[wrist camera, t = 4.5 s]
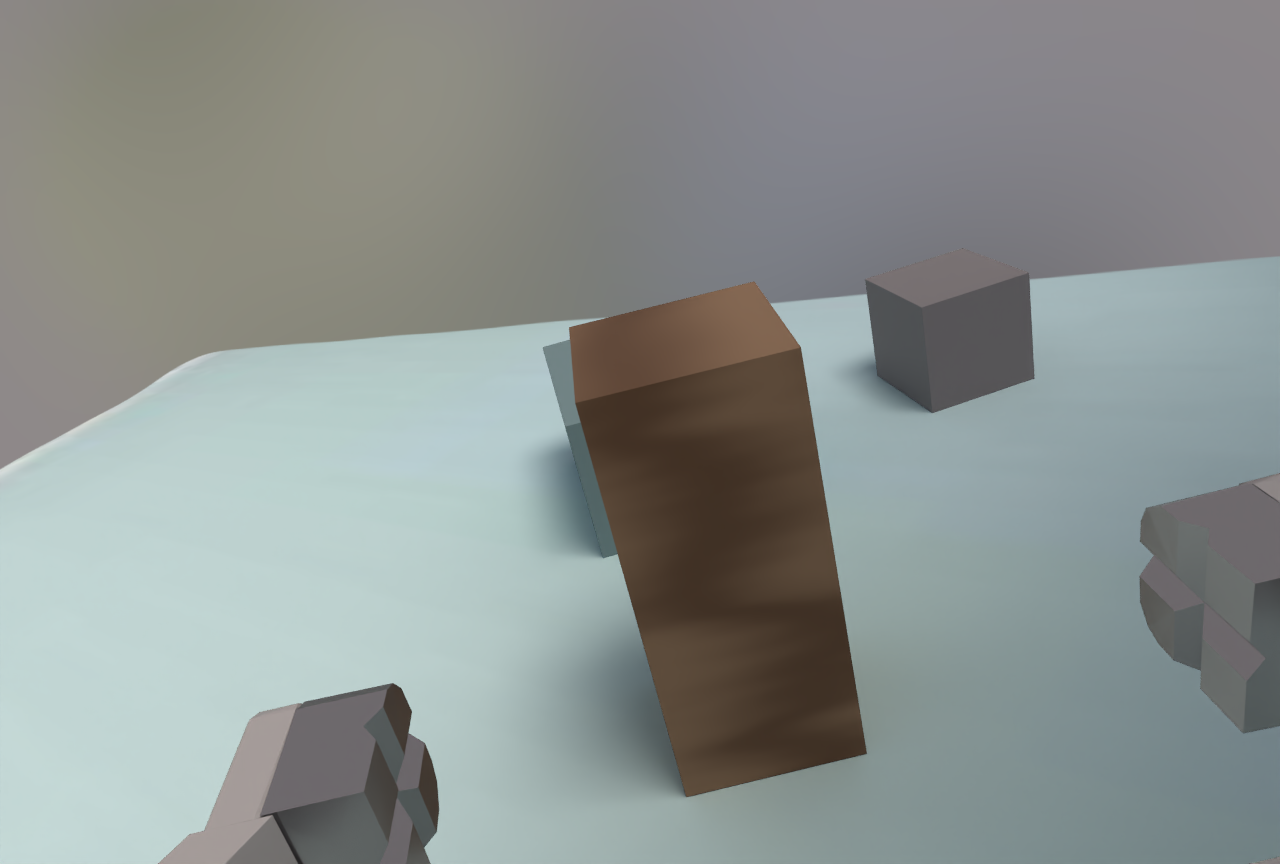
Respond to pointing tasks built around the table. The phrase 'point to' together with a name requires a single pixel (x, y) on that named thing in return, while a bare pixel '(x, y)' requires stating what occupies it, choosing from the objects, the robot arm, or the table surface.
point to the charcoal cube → (952, 328)
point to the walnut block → (722, 532)
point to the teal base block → (578, 440)
